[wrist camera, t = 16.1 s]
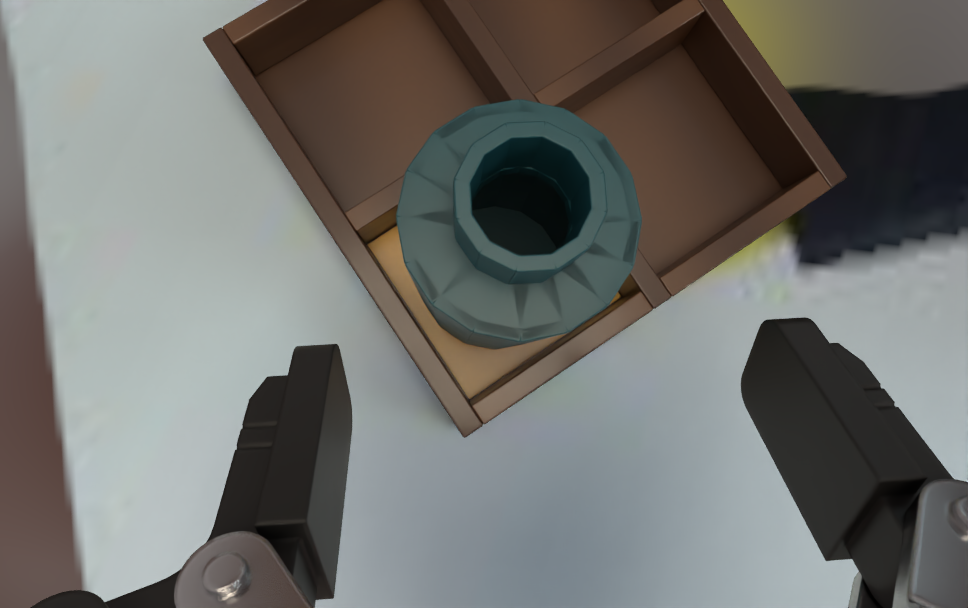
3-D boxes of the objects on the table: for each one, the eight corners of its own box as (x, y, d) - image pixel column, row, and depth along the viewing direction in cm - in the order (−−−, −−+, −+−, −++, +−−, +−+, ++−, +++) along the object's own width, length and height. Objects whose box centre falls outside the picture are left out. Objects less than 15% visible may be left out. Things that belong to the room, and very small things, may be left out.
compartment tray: (573, -125, 27) (589, -189, 23) (801, 198, 26) (848, 176, 23) (232, 77, 25) (201, 37, 22) (462, 428, 24) (464, 438, 21)
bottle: (513, 174, 24) (567, 10, 13) (595, 295, 24) (724, 236, 13) (391, 253, 24) (333, 153, 12) (472, 377, 24) (491, 393, 12)
